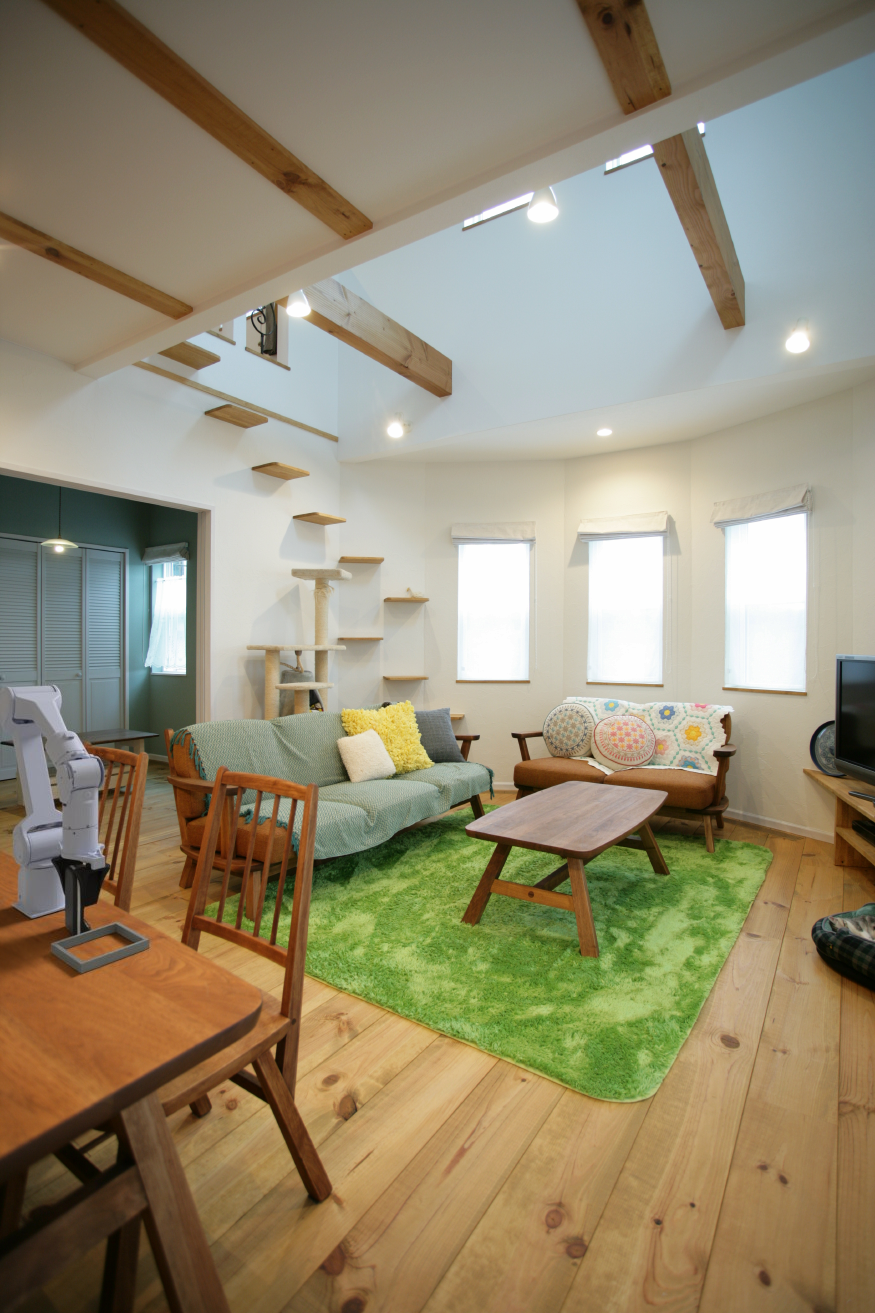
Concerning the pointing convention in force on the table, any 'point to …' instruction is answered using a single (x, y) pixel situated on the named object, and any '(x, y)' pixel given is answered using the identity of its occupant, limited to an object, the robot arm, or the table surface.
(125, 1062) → the table surface
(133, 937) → the holder frame
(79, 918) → the battery charger
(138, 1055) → the table surface
